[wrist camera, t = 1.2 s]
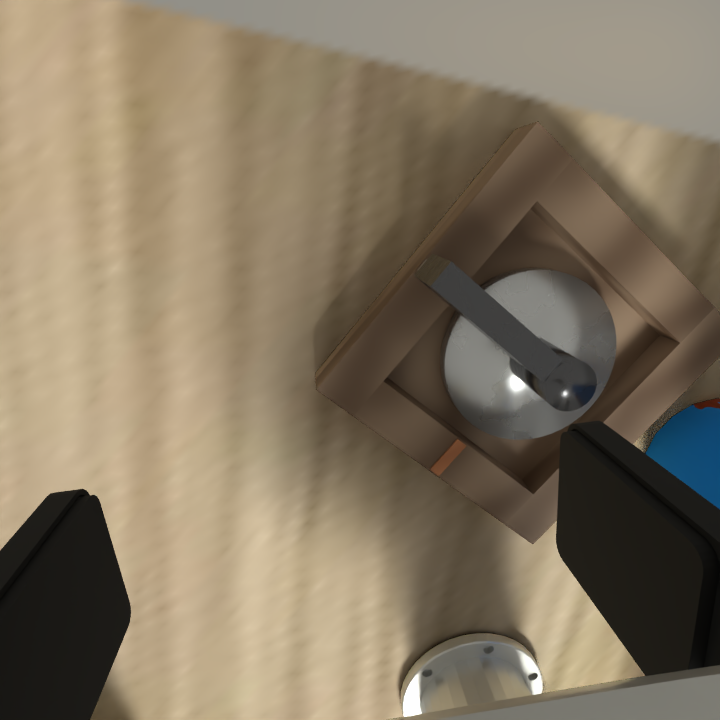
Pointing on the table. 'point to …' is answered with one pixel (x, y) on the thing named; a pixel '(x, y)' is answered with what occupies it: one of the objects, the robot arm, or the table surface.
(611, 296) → the wooden frame
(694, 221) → the table surface
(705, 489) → the thermos
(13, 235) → the table surface
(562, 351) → the dial
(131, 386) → the table surface
